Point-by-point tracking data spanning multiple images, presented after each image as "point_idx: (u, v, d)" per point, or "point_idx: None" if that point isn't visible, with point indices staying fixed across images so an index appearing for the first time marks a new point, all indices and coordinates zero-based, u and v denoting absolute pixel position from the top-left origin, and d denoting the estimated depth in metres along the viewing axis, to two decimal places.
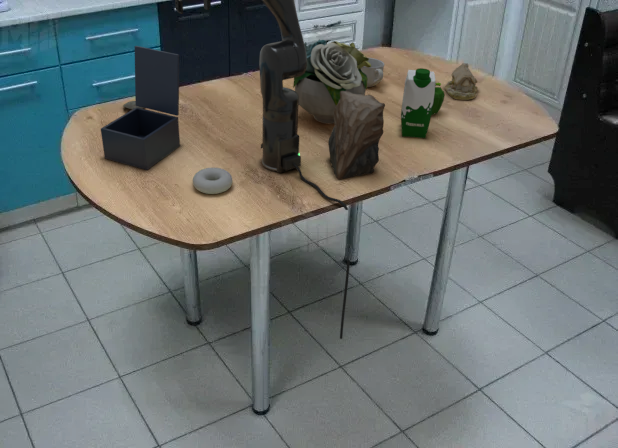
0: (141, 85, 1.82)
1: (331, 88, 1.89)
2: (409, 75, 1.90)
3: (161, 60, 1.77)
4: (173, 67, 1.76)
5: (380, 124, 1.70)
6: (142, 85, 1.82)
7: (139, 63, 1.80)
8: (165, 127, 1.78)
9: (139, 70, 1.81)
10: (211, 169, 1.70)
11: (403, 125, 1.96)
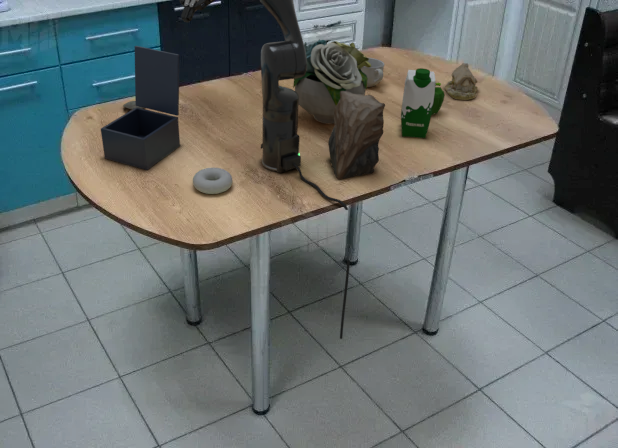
0: (141, 85, 1.82)
1: (331, 88, 1.89)
2: (409, 75, 1.90)
3: (161, 60, 1.77)
4: (173, 67, 1.76)
5: (380, 124, 1.70)
6: (142, 85, 1.82)
7: (139, 63, 1.80)
8: (165, 127, 1.78)
9: (139, 70, 1.81)
10: (211, 169, 1.70)
11: (403, 125, 1.96)
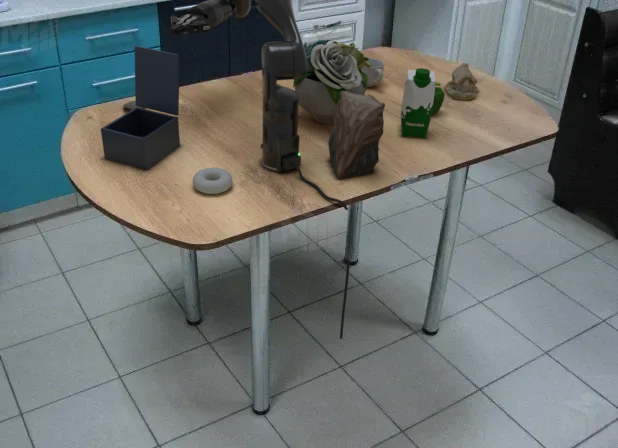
0: (141, 85, 1.82)
1: (331, 88, 1.89)
2: (409, 75, 1.90)
3: (161, 60, 1.77)
4: (173, 67, 1.76)
5: (380, 124, 1.70)
6: (142, 85, 1.82)
7: (139, 63, 1.80)
8: (165, 127, 1.78)
9: (139, 70, 1.81)
10: (211, 169, 1.70)
11: (403, 125, 1.96)
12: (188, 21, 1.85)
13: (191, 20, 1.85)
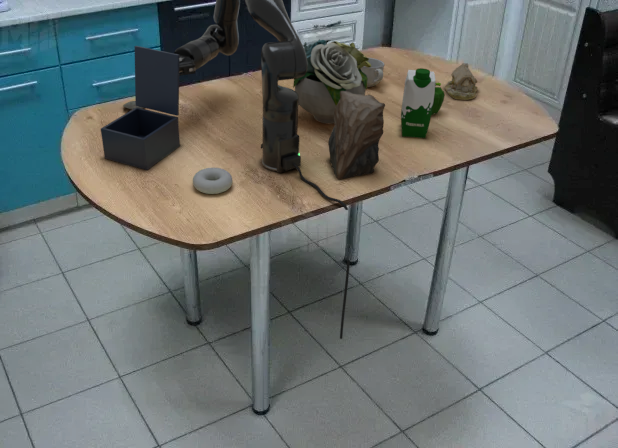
0: (141, 85, 1.82)
1: (331, 88, 1.89)
2: (409, 75, 1.90)
3: (161, 60, 1.77)
4: (173, 67, 1.76)
5: (380, 124, 1.70)
6: (142, 85, 1.82)
7: (139, 63, 1.80)
8: (165, 127, 1.78)
9: (139, 70, 1.81)
10: (211, 169, 1.70)
11: (403, 125, 1.96)
12: None
13: None
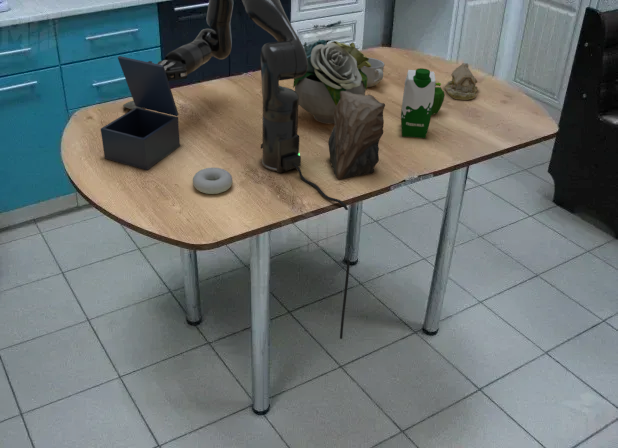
0: (135, 90, 1.80)
1: (331, 88, 1.89)
2: (409, 75, 1.90)
3: (147, 71, 1.72)
4: (160, 77, 1.72)
5: (380, 124, 1.70)
6: (136, 90, 1.80)
7: (127, 72, 1.76)
8: (165, 127, 1.78)
9: (129, 78, 1.78)
10: (211, 169, 1.70)
11: (403, 125, 1.96)
12: (165, 68, 1.80)
13: (168, 67, 1.81)
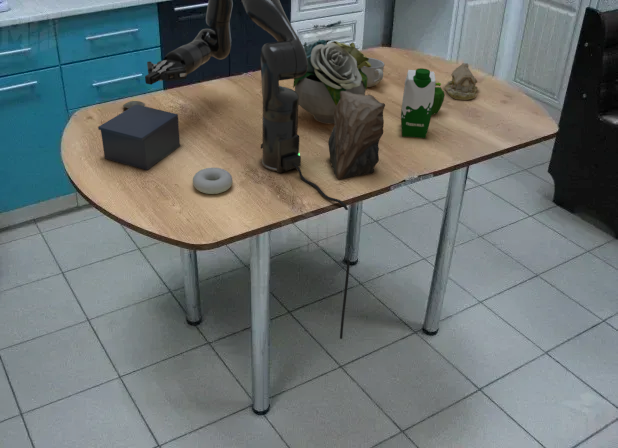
0: None
1: (331, 88, 1.89)
2: (409, 75, 1.90)
3: None
4: None
5: (380, 124, 1.70)
6: None
7: None
8: (165, 127, 1.78)
9: None
10: (211, 169, 1.70)
11: (403, 125, 1.96)
12: (164, 68, 1.80)
13: (167, 67, 1.80)
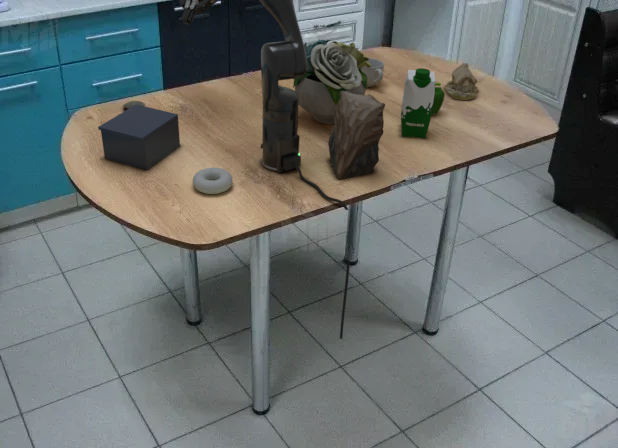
0: None
1: (331, 88, 1.89)
2: (409, 75, 1.90)
3: None
4: None
5: (380, 124, 1.70)
6: None
7: None
8: (165, 127, 1.78)
9: None
10: (211, 169, 1.70)
11: (403, 125, 1.96)
12: (194, 1, 1.87)
13: None
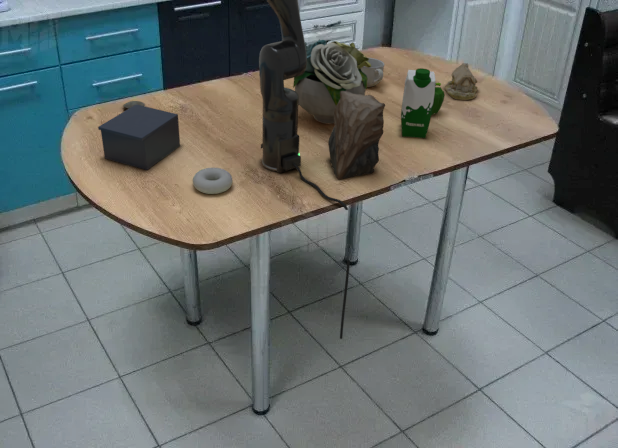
0: None
1: (331, 88, 1.89)
2: (409, 75, 1.90)
3: None
4: None
5: (380, 124, 1.70)
6: None
7: None
8: (165, 127, 1.78)
9: None
10: (211, 169, 1.70)
11: (403, 125, 1.96)
12: None
13: None
